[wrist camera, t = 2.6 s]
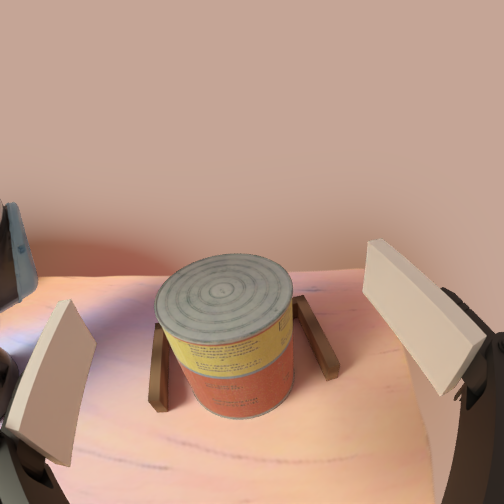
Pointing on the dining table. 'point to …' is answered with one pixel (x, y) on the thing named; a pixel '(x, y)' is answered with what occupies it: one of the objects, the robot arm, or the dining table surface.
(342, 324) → the dining table surface
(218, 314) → the canned food
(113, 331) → the dining table surface
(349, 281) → the dining table surface
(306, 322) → the walnut u-shaped frame
